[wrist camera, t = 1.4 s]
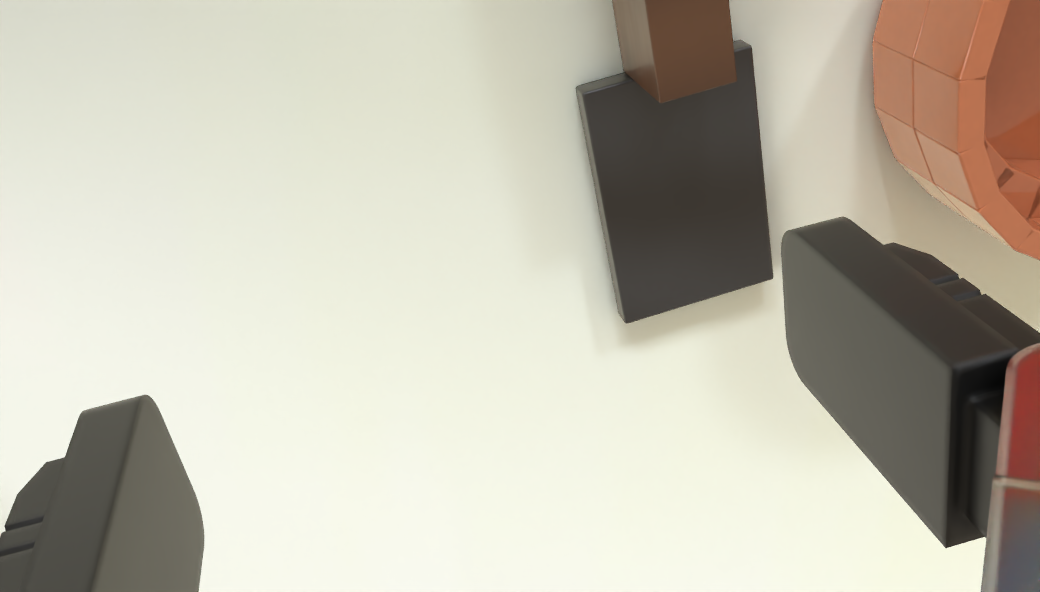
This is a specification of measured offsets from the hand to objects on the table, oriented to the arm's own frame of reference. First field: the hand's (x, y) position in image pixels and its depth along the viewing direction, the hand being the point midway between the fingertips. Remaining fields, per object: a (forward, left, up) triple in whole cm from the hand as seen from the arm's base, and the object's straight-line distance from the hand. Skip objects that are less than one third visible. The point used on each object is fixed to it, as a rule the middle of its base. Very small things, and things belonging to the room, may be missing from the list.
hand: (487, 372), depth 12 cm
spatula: (+3, +8, -17) cm, 19 cm away
